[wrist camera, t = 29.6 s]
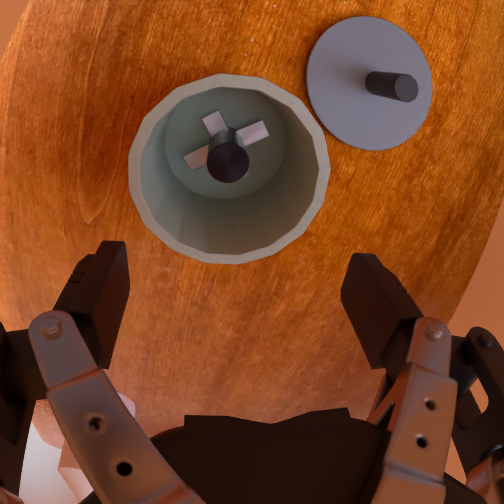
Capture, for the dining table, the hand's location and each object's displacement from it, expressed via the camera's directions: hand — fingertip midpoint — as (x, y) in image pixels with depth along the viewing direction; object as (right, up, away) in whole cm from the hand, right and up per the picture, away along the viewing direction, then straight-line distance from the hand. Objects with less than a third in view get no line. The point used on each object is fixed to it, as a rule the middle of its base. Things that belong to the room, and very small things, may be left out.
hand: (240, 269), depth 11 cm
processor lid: (+12, +16, +14) cm, 25 cm away
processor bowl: (-2, +11, +17) cm, 20 cm away
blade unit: (-2, +10, +16) cm, 20 cm away
